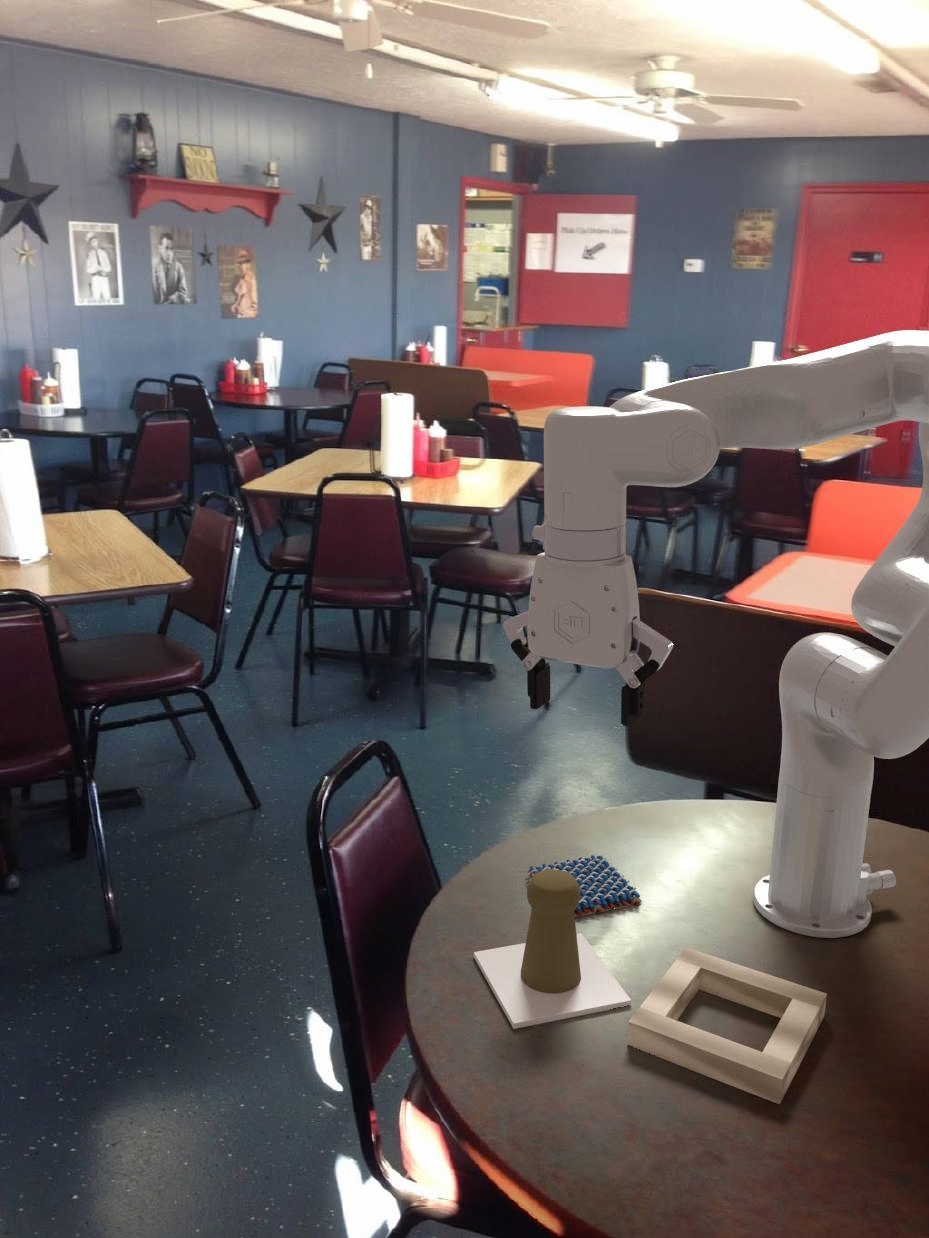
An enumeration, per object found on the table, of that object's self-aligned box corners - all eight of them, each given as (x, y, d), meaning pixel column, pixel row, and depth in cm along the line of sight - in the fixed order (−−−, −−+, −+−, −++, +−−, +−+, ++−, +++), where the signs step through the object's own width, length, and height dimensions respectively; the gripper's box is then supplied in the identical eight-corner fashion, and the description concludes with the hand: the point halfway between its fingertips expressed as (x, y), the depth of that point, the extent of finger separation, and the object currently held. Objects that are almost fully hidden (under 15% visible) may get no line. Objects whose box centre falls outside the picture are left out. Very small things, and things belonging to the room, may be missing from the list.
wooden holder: (684, 968, 110) (686, 947, 109) (824, 1016, 103) (826, 993, 102) (627, 1044, 99) (628, 1021, 98) (779, 1104, 92) (782, 1079, 91)
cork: (578, 997, 104) (582, 896, 101) (516, 989, 106) (518, 889, 102) (584, 961, 110) (588, 864, 107) (525, 954, 111) (527, 858, 108)
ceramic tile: (581, 938, 115) (581, 933, 115) (630, 1005, 104) (631, 1000, 104) (473, 957, 112) (473, 952, 112) (513, 1028, 101) (513, 1023, 101)
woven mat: (601, 865, 131) (602, 849, 131) (644, 909, 122) (645, 893, 121) (522, 879, 128) (522, 864, 127) (560, 926, 118) (560, 910, 118)
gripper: (484, 542, 102) (488, 711, 107) (658, 560, 94) (654, 743, 99) (521, 526, 108) (524, 687, 113) (687, 542, 100) (682, 715, 105)
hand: (584, 712), depth 106 cm, fingers open, 9 cm apart
